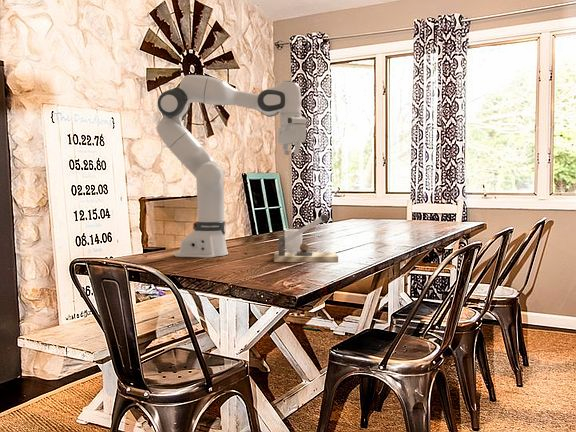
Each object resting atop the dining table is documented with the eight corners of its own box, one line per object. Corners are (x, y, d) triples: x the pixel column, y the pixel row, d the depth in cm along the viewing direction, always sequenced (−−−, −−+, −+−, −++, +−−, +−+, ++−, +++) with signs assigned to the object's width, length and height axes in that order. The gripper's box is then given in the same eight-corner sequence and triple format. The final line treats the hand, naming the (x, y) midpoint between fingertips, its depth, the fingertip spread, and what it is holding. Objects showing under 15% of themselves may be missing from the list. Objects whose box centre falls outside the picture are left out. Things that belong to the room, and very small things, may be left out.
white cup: (300, 254, 235) (300, 231, 235) (282, 253, 237) (282, 230, 236) (304, 251, 243) (304, 229, 242) (286, 251, 245) (286, 228, 244)
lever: (280, 247, 217) (277, 241, 217) (280, 245, 224) (277, 239, 224) (329, 219, 217) (325, 213, 216) (327, 218, 223) (324, 212, 223)
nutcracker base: (274, 261, 215) (273, 238, 214) (274, 257, 227) (274, 235, 226) (338, 261, 215) (338, 238, 214) (335, 257, 227) (335, 235, 226)
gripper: (273, 123, 237) (274, 155, 238) (294, 118, 218) (295, 153, 219) (287, 123, 239) (287, 155, 240) (308, 118, 221) (309, 153, 222)
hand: (291, 154), depth 230 cm, fingers open, 8 cm apart
